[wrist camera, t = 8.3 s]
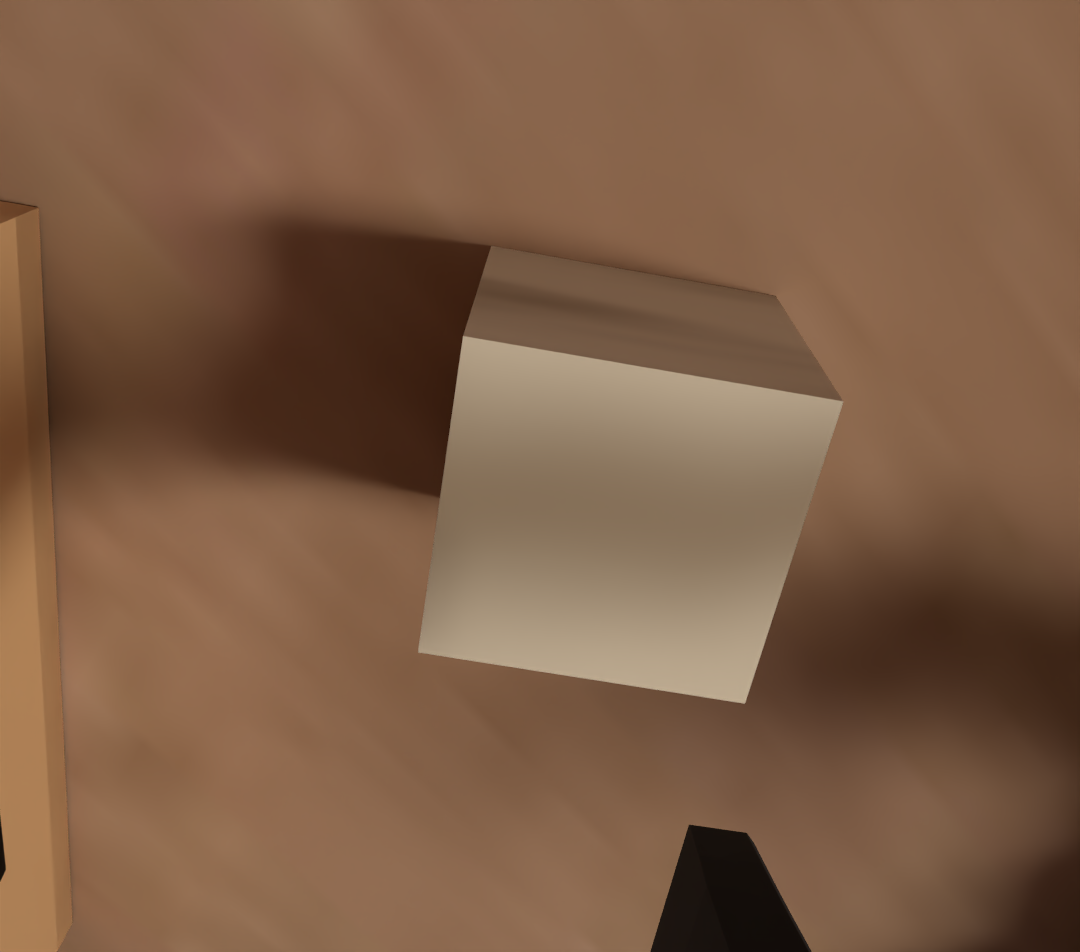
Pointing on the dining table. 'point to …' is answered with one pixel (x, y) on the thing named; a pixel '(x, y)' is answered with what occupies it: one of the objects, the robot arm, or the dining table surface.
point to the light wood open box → (28, 614)
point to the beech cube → (623, 476)
